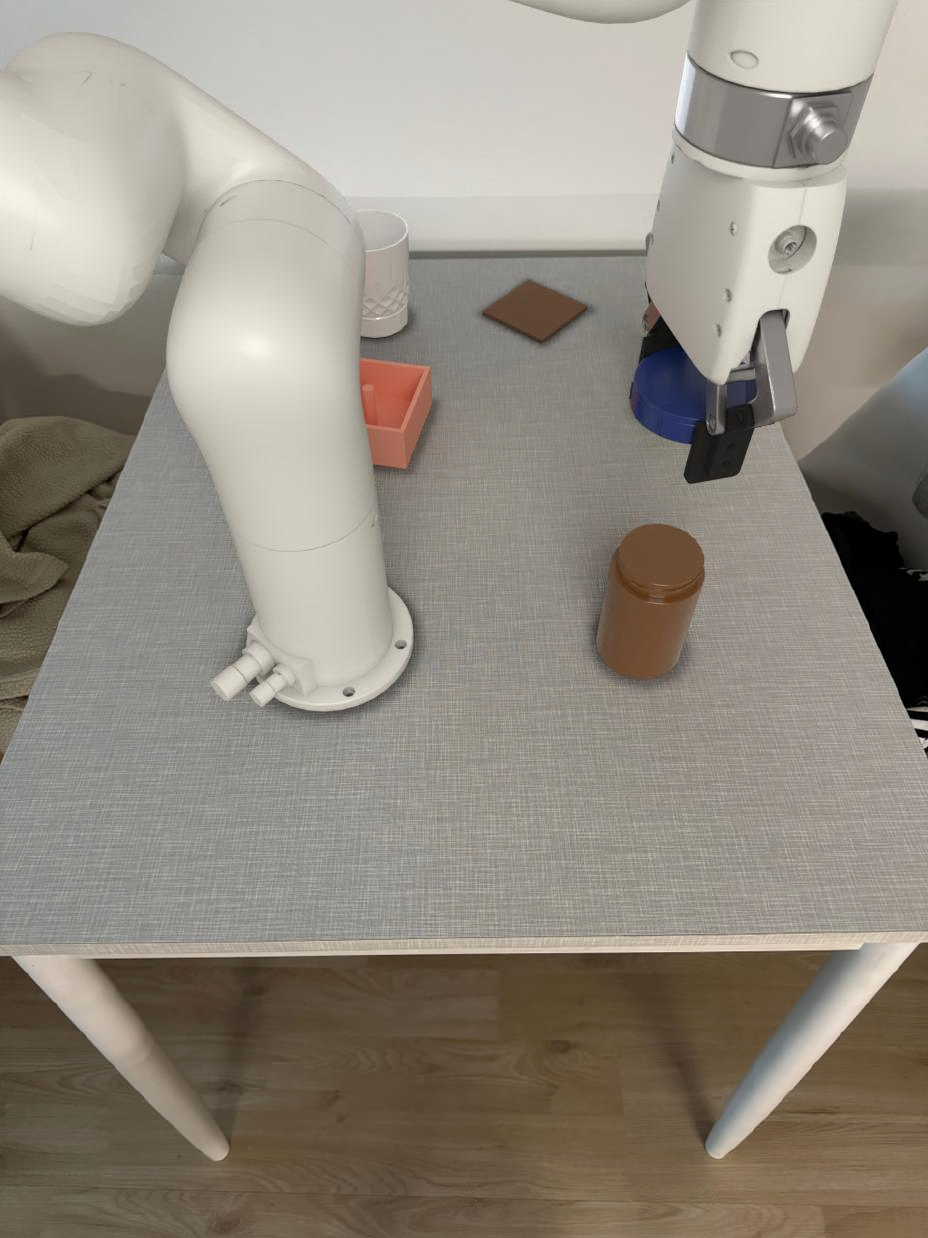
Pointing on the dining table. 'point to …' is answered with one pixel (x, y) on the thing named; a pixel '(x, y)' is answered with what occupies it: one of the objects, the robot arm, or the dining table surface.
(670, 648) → the jar
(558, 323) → the pad
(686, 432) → the lid
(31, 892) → the dining table surface
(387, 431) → the salmon pink open box
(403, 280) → the white cup
